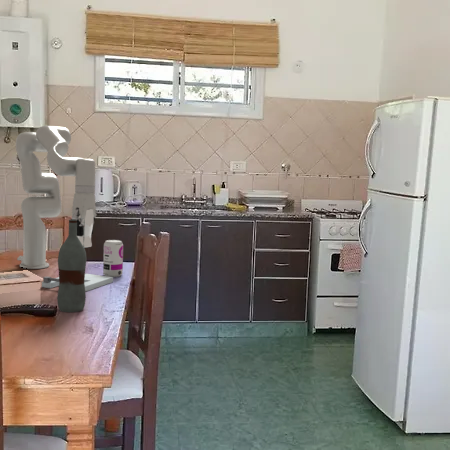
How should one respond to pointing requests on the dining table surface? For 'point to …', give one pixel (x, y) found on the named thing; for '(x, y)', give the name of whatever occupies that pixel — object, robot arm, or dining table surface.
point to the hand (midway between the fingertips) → (84, 234)
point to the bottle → (71, 272)
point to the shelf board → (89, 281)
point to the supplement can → (113, 258)
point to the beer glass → (87, 228)
